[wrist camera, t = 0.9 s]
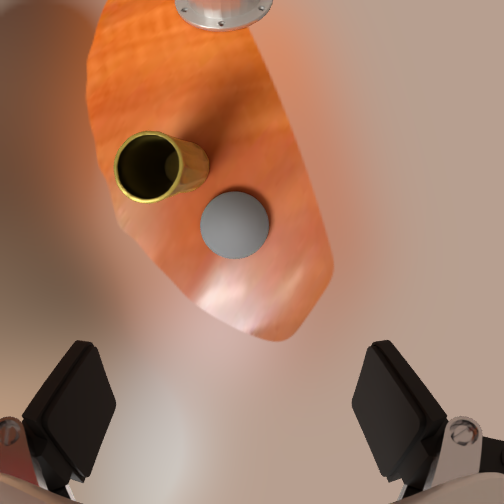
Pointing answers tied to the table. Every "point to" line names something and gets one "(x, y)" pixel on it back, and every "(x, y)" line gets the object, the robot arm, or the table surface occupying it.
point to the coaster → (234, 225)
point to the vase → (159, 166)
